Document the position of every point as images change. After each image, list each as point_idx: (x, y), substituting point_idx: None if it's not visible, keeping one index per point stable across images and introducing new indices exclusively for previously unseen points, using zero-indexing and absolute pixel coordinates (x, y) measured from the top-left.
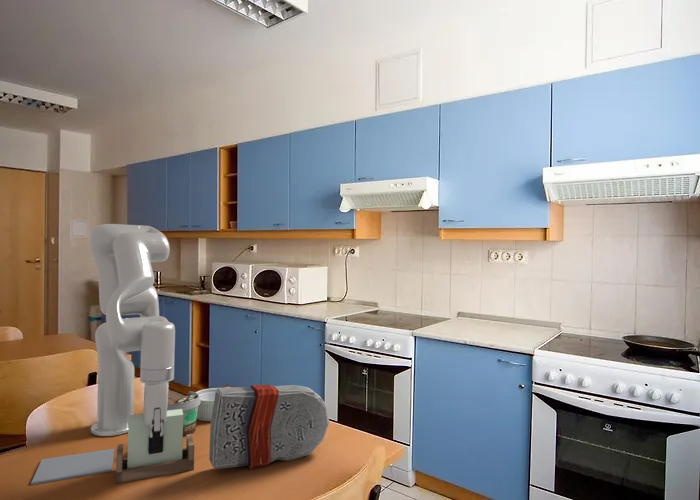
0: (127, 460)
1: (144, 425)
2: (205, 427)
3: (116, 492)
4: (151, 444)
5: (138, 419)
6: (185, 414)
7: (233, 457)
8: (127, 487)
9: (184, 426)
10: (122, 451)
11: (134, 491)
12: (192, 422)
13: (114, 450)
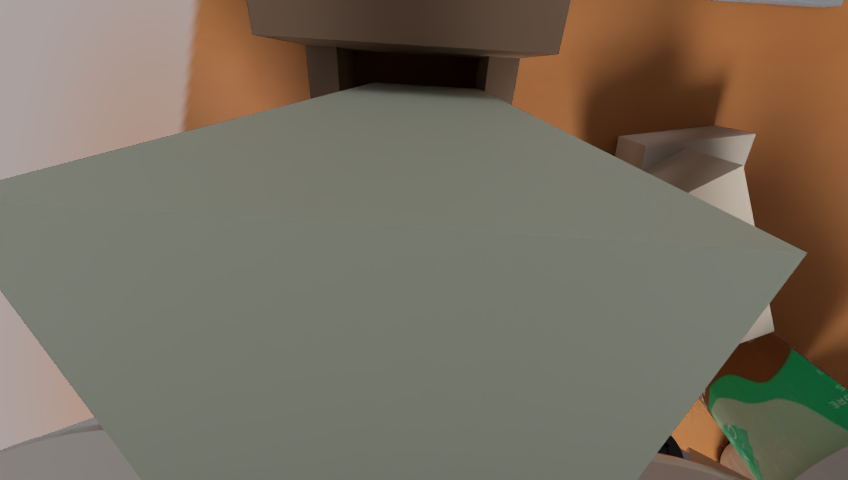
0: (359, 86)
1: (9, 448)
2: (700, 412)
3: (218, 14)
4: None
5: (176, 454)
6: (762, 460)
7: None
8: (263, 79)
9: (710, 389)
10: (367, 39)
11: (214, 113)
12: (716, 422)
13: (815, 5)
